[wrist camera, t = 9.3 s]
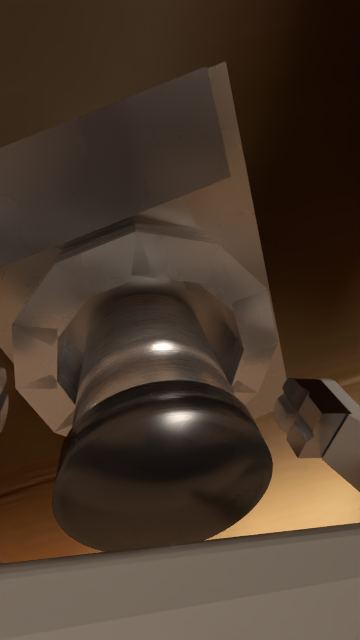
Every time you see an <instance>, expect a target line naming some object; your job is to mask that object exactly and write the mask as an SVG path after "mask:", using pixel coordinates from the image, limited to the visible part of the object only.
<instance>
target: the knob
mask: <svg viewBox="0 0 360 640" xmlns="http://www.w3.org/2000/svg"><path fill="white" fill-rule="evenodd" d="M272 470H273V462H272V457H271V454H270V451H269V449H268V447H267V445H266V443H265V441H264V439H263V437H262V435H261V433H260V431H259V429H258V427H257V425H256V423H255V421H254V419H253V418H252V416H251V414H250V412H249V411H248V409H247V408H246V406H245V405H244V404H243V403H242V402H241V401H240V400H239V399H238V398H236V397H235V395H234V393H233V391H232V389H231V387H230V384H229V382H228V380H227V378H226V376H225V374H224V372H223V370H222V368H221V366H220V364H219V362H218V360H217V358H216V356H215V354H214V352H213V350H212V348H211V345H210V343H209V341H208V339H207V337H206V335H205V333H204V331H203V329H202V327H201V325H200V323H199V321H198V319H197V317H196V316H195V314H194V313H193V312H192V311H191V310H190V309H189V308H188V307H187V306H185V305H184V304H183V303H181V302H179V301H178V300H176V299H173V298H171V297H168V296H164V295H159V294H137V295H132V296H128V297H125V298H122V299H120V300H118V301H116V302H114V303H112V304H111V305H109V306H108V307H106V308H105V309H104V310H103V311H102V312H101V313H100V314H99V315H98V316H97V317H96V318H95V320H94V321H93V323H92V325H91V327H90V329H89V331H88V334H87V338H86V344H85V350H84V357H83V363H82V369H81V375H80V381H79V387H78V393H77V399H76V405H75V411H74V417H73V423H72V428H71V430H70V431H69V433H68V434H67V436H66V438H65V440H64V443H63V446H62V449H61V453H60V459H59V464H58V469H57V475H56V480H55V485H54V491H53V498H52V507H53V513H54V516H55V518H56V521H57V522H58V524H59V525H60V527H61V528H62V529H63V530H64V531H65V532H66V533H67V534H68V535H69V536H70V537H72V538H73V539H74V540H76V541H77V542H79V543H81V544H83V545H85V546H88V547H91V548H94V549H97V550H101V551H105V552H109V551H118V550H127V549H136V548H144V547H153V546H162V545H170V544H179V543H187V542H196V541H204V540H206V539H208V538H210V537H213V536H215V535H217V534H219V533H220V532H222V531H224V530H226V529H227V528H229V527H231V526H232V525H234V524H235V523H236V522H238V521H239V520H241V519H242V518H243V517H244V516H245V515H246V514H248V513H249V512H250V511H251V510H252V509H253V508H254V507H255V506H256V505H257V503H258V502H259V501H260V499H261V498H262V497H263V495H264V493H265V492H266V490H267V488H268V485H269V483H270V480H271V476H272Z"/></svg>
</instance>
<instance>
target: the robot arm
mask: <svg viewBox="0 0 360 640" xmlns="http://www.w3.org/2000/svg"><path fill="white" fill-rule="evenodd" d="M6 381H7V377H6V370H5V369H4V368H3V367H0V433H1V432H2V430H3V427H4V424H5V422H6V417H7V412H8V394H7V393H6V392H5V391H4V390H3V388H4V386H5V384H6ZM282 390H283V394H282V395H281V396H280V397H278V398H277V400H276V403H275V405H274V417H275V420H276V422H277V424H278V426H279V428H280V429H282V430H283V431H284V432H286V433H287V441H288V443H289V444H290V446H291V448H292V449H293V451H294V453H295V454H296V456H297V457H298V458H322V460H323V461H325V462H326V463H327V464H328V465H329V466H330V467H331V468H333V469H334V470H335V471H336V472H337V473H338V474H339V475H341V476H342V477H343V478H344V479H345V480H346V481H348V482H349V483H350V484H351V485H352V486H353V487H354V488H356V489H357V490H358V491H359V492H360V406H359V405H358V404H357V403H356V402H355V401H354V400H353V399H352V398H351V397H350V396H349V395H348V394H347V393H346V392H345V391H344V390H343V389H342V388H341V387H340V386H339V385H338V384H337V383H336V382H335V381H334V380H331V379H299V378H288V379H287V380H286V381H285V382H284V385H283V387H282ZM0 640H360V523H353V524H345V525H336V526H327V527H318V528H309V529H301V530H292V531H283V532H274V533H266V534H257V535H248V536H239V537H231V538H222V539H213V540H205V541H196V542H187V543H179V544H170V545H162V546H153V547H144V548H136V549H127V550H118V551H109V552H101V553H92V554H83V555H74V556H65V557H57V558H48V559H39V560H30V561H22V562H13V563H4V564H0Z"/></svg>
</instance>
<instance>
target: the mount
mask: <svg viewBox="0 0 360 640" xmlns="http://www.w3.org/2000/svg"><path fill="white" fill-rule="evenodd" d="M137 294H159V295H164V296H168V297H171V298H173V299H176V300H178V301H179V302H181V303H183V304H184V305H185V306H187V307H188V308H189V309H190V310H191V311H192V312H193V313H194V314H195V316H196V317H197V319H198V321H199V323H200V325H201V327H202V329H203V331H204V333H205V335H206V337H207V339H208V341H209V343H210V345H211V348H212V350H213V352H214V354H215V356H216V358H217V360H218V362H219V364H220V366H221V368H222V370H223V372H224V374H225V376H226V378H227V380H228V382H229V384H230V387H231V389H232V391H233V393H234V395H235V397H236V398H238V399H239V400H240V401H241V402H242V403H243V404H244V405H245V406H246V408H247V409H248V411H249V412H250V414H251V416H252V418H253V419H255V418H257V417H260V416H262V415H265V414H267V413H270V412H273V411H274V405H275V403H276V400H277V398H278V397H280V396H281V395H282V394H283V390H282V387H283V385H284V382H285V381H286V380H287V379H286V373H285V368H284V363H283V358H282V353H281V347H280V342H279V337H278V332H277V326H276V321H275V316H274V311H273V306H272V300H271V295H270V290H269V285H268V279H267V274H266V269H265V264H264V259H263V253H262V248H261V243H260V238H259V233H258V227H257V222H256V217H255V212H254V206H253V201H252V196H251V191H250V186H249V180H248V175H247V170H246V165H245V159H244V154H243V149H242V144H241V139H240V133H239V128H238V123H237V118H236V112H235V107H234V102H233V97H232V92H231V86H230V81H229V76H228V71H227V66H226V61H225V62H223V63H220V64H218V65H215V66H213V67H210V68H207V66H206V67H203V68H201V69H198V70H196V71H193V72H191V73H188V74H186V75H183V76H181V77H178V78H176V79H173V80H170V81H168V82H165V83H163V84H160V85H158V86H155V87H153V88H150V89H148V90H145V91H143V92H140V93H138V94H135V95H133V96H130V97H128V98H125V99H122V100H120V101H117V102H115V103H112V104H110V105H107V106H105V107H102V108H100V109H97V110H95V111H92V112H90V113H87V114H85V115H82V116H80V117H77V118H74V119H72V120H69V121H67V122H64V123H62V124H59V125H57V126H54V127H52V128H49V129H47V130H44V131H42V132H39V133H37V134H34V135H32V136H29V137H26V138H24V139H21V140H19V141H16V142H14V143H11V144H9V145H6V146H4V147H1V148H0V348H1V349H2V350H3V351H4V353H5V354H6V355H7V356H8V357H9V359H10V360H11V361H12V362H13V363H14V372H15V387H16V389H17V391H18V392H19V393H20V394H21V395H22V396H23V397H24V399H25V400H26V401H27V402H28V403H29V404H30V405H31V407H32V408H33V409H34V410H35V411H36V412H37V413H38V415H39V416H40V417H41V418H42V419H43V420H44V421H45V422H46V424H47V425H48V426H49V427H50V428H51V429H52V430H53V432H55V433H57V434H60V435H63V436H67V434H68V433H69V431H70V430H71V428H72V423H73V417H74V411H75V405H76V399H77V393H78V387H79V381H80V375H81V369H82V363H83V357H84V350H85V344H86V338H87V334H88V331H89V329H90V327H91V325H92V323H93V321H94V320H95V318H96V317H97V316H98V315H99V314H100V313H101V312H102V311H103V310H104V309H105V308H106V307H108V306H109V305H111V304H112V303H114V302H116V301H118V300H120V299H122V298H125V297H128V296H132V295H137Z"/></svg>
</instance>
